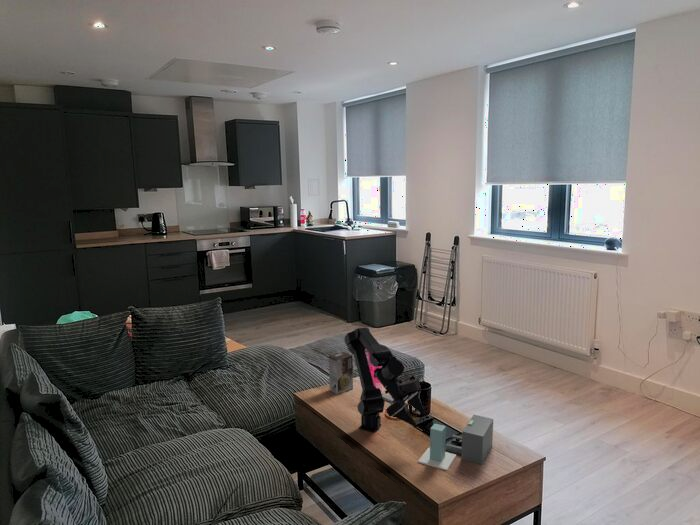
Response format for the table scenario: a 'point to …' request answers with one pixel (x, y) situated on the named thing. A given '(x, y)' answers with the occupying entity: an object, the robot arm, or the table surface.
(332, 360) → the coffee box
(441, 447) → the key block
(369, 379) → the robot arm
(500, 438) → the table surface
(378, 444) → the table surface
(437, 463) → the mat
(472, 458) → the charging dock
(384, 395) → the adjustable wrench
